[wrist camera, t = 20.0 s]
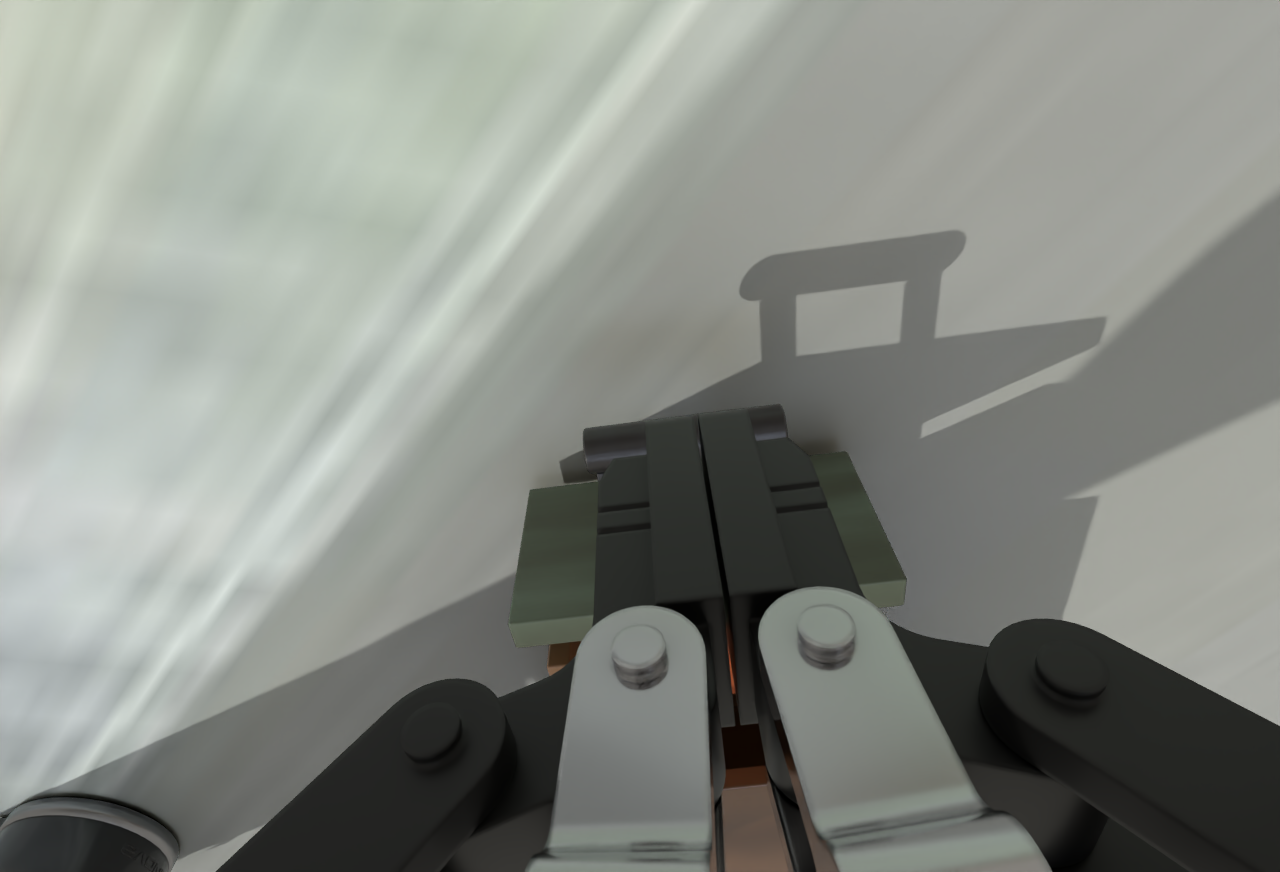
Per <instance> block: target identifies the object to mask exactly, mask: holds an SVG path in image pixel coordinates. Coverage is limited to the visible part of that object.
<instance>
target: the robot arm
mask: <svg viewBox="0 0 1280 872" xmlns="http://www.w3.org/2000/svg"><path fill="white" fill-rule="evenodd" d="M697 417H698V429H699V439H700V449H701V458H700V452H699V446H698V440H697V434H696V427H695V421H694V416H693V415H687V416H679V417H671V418H663V419H655V420H647V421H645V434H646V452H647V455H638V456H630V457H622V458H614V459H613V460H612V462H611V463H610V465H609V466H608V468H607V470H606V471H605V473H604V474H603V476H602V477H601V479H600V481H599V482H598V513H597V535H596V561H595V588H594V615H593V624H592V628H591V629H590V630H589V631H588V632H587V634H586V635H585V637H584V638H583V640H582V641H581V643H580V645H579V648H578V650H577V654H576V656H575V657H574V658H573V659H572V660H571V661H570V662H569V663H568V664H567V665H565V666H564V667H563V668H562V669H560V670H559V671H557V672H556V673H554V674H553V675H551V676H549V677H547V678H545V679H543V680H541V681H539V682H536V683H534V684H531V685H529V686H526V687H524V688H522V689H519V690H517V691H514V692H512V693H509V694H507V695H504V696H502V697H499V698H497V697H496V695H495V694H494V693H493V692H492V691H491V690H490V689H489V688H487V687H486V686H484V685H482V684H480V683H478V682H475V681H472V680H468V679H445V680H440V681H436V682H433V683H430V684H427V685H424V686H422V687H420V688H418V689H416V690H414V691H412V692H411V693H409V694H408V695H406V696H405V697H403V698H402V699H401V700H399V701H398V702H397V703H396V704H395V705H393V706H392V707H391V708H390V709H389V710H388V711H387V712H386V713H385V714H384V715H383V716H381V717H380V718H379V719H378V720H377V721H376V722H375V723H374V724H373V725H372V726H371V727H370V728H369V729H368V730H367V731H365V732H364V733H363V734H362V735H361V736H360V737H359V738H358V739H357V740H356V741H355V742H354V743H353V744H352V745H351V746H349V747H348V748H347V749H346V750H345V751H344V752H343V753H342V754H341V755H340V756H339V757H338V758H337V759H336V760H334V761H333V762H332V763H331V764H330V765H329V766H328V767H327V768H326V769H325V770H324V771H323V772H322V773H321V774H320V775H318V776H317V777H316V778H315V779H314V780H313V781H312V782H311V783H310V784H309V785H308V786H307V787H306V788H305V789H304V790H302V791H301V792H300V793H299V794H298V795H297V796H296V797H295V798H294V799H293V800H292V801H291V802H290V803H289V804H287V805H286V806H285V807H284V808H283V809H282V810H281V811H280V812H279V813H278V814H277V815H276V816H275V817H274V818H273V819H271V820H270V821H269V822H268V823H267V824H266V825H265V826H264V827H263V828H262V829H261V830H260V831H259V832H258V833H256V834H255V835H254V836H253V837H252V838H251V839H250V840H249V841H248V842H247V843H246V844H245V845H244V846H243V847H242V848H240V849H239V850H238V851H237V852H236V853H235V854H234V855H233V856H232V857H231V858H230V859H229V860H228V861H227V862H226V863H224V864H223V865H222V866H221V867H220V868H219V869H218V870H217V871H216V872H727V866H726V846H725V825H724V804H723V791H722V790H723V787H724V784H725V777H726V770H725V758H724V749H723V740H722V732H721V728H722V727H732V726H735V717H734V707H733V696H732V685H731V674H730V664H729V655H730V661H731V668H732V674H733V680H734V686H735V693H736V699H737V705H738V712H739V718H740V724H741V725H748V724H758V723H759V729H760V734H761V740H762V745H763V751H764V756H765V770H766V784H767V790H768V794H769V798H770V802H771V806H772V809H773V813H774V817H775V821H776V825H777V829H778V833H779V837H780V840H781V844H782V848H783V852H784V856H785V860H786V864H787V868H788V871H789V872H1280V726H1278V725H1276V724H1274V723H1273V722H1271V721H1269V720H1267V719H1265V718H1263V717H1261V716H1259V715H1257V714H1255V713H1253V712H1251V711H1249V710H1248V709H1246V708H1244V707H1242V706H1240V705H1238V704H1236V703H1234V702H1232V701H1230V700H1228V699H1226V698H1224V697H1222V696H1221V695H1219V694H1217V693H1215V692H1213V691H1211V690H1209V689H1207V688H1205V687H1203V686H1201V685H1199V684H1197V683H1196V682H1194V681H1192V680H1190V679H1188V678H1186V677H1184V676H1182V675H1180V674H1178V673H1176V672H1174V671H1172V670H1170V669H1169V668H1167V667H1165V666H1163V665H1161V664H1159V663H1157V662H1155V661H1153V660H1151V659H1149V658H1147V657H1145V656H1143V655H1142V654H1140V653H1138V652H1136V651H1134V650H1132V649H1130V648H1128V647H1126V646H1124V645H1122V644H1120V643H1118V642H1117V641H1115V640H1113V639H1111V638H1109V637H1107V636H1105V635H1103V634H1101V633H1099V632H1097V631H1094V630H1092V629H1090V628H1087V627H1084V626H1081V625H1078V624H1075V623H1071V622H1067V621H1062V620H1054V619H1031V620H1024V621H1021V622H1017V623H1014V624H1012V625H1010V626H1008V627H1006V628H1004V629H1003V630H1002V631H1000V632H999V633H998V634H997V635H996V636H995V637H994V639H993V640H992V642H991V643H990V646H989V647H984V646H978V645H972V644H965V643H959V642H953V641H947V640H941V639H935V638H931V637H926V636H922V635H919V634H916V633H913V632H910V631H908V630H906V629H904V628H902V627H899V626H898V625H896V624H894V623H893V622H891V621H889V620H888V619H887V617H886V616H885V615H884V614H883V612H882V611H881V610H880V609H879V608H878V607H876V606H875V605H874V604H873V603H871V602H870V601H868V600H867V599H866V597H865V596H864V594H863V592H862V590H861V588H860V586H859V583H858V581H857V578H856V576H855V573H854V570H853V568H852V565H851V563H850V560H849V557H848V555H847V552H846V550H845V547H844V544H843V542H842V539H841V536H840V534H839V531H838V529H837V526H836V523H835V521H834V518H833V516H832V513H831V510H830V508H828V504H827V500H826V497H825V495H824V492H823V490H822V487H820V483H819V479H818V476H817V474H816V471H815V469H814V466H813V463H812V461H811V458H810V456H809V455H807V454H806V453H805V452H804V451H803V450H802V449H800V448H799V447H798V446H797V445H796V444H795V443H793V442H792V441H791V440H790V439H789V438H788V437H784V438H776V439H768V440H760V441H756V438H755V434H754V431H753V427H752V424H751V420H750V417H749V413H748V410H747V408H742V409H734V410H726V411H717V412H709V413H701V414H697ZM701 459H702V464H701ZM702 468H703V470H702ZM728 649H729V653H728ZM178 855H179V846H178V843H177V841H176V839H175V838H174V836H173V835H172V834H171V833H170V832H169V831H168V830H167V829H166V828H165V827H163V826H162V825H161V824H159V823H158V822H156V821H155V820H153V819H151V818H149V817H147V816H145V815H143V814H141V813H139V812H136V811H134V810H131V809H129V808H126V807H122V806H119V805H116V804H112V803H108V802H103V801H98V800H92V799H84V798H71V797H56V798H45V799H39V800H34V801H31V802H27V803H25V804H22V805H20V806H19V807H17V808H16V809H14V810H13V811H12V812H11V813H10V814H9V816H8V817H7V818H1V819H0V872H171V870H172V868H173V866H174V864H175V862H176V860H177V858H178Z"/></svg>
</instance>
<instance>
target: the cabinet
mask: <svg viewBox="0 0 1280 872" xmlns="http://www.w3.org/2000/svg"><path fill="white" fill-rule="evenodd" d="M725 770H726V777H725V784H724V787H723V790H722V791H723V804H724V825H725V846H726V866H727V872H789V871H788V868H787V864H786V860H785V856H784V852H783V848H782V844H781V840H780V837H779V833H778V829H777V825H776V821H775V817H774V813H773V809H772V806H771V802H770V798H769V794H768V790H767V784H766V770H765V765H762V766H752V767H742V768H733V769H725Z"/></svg>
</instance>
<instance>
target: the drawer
mask: <svg viewBox="0 0 1280 872" xmlns="http://www.w3.org/2000/svg"><path fill="white" fill-rule="evenodd" d="M747 410H748V413H749V417H750V420H751V424H752V427H753V431H754V434H755V438H756V441H760V440H768V439H776V438H784V437H788V434H787V424H786V418H785V414H784V410H783V408H782V406H781V405H780V404H774V405H766V406H758V407H750V408H747ZM693 416H694V421H695V427H696V434H697V440H698V446H699V452H700V458H701V449H700V439H699V429H698V417H697V414H695V415H693ZM583 448H584V456H585V462H586V466H587V469H588V472H589V473H591V474H594V473H597V478H598V482H599V481H600V479H601V477H602V476H603V474H604V473H605V471H606V470H607V468H608V466H609V465H610V463H611V462H612V460H613V459H614V458H622V457H630V456H638V455H647V452H646V434H645V421H639V422H631V423H623V424H616V425H608V426H600V427H592V428H585V429H584V431H583ZM810 458H811V461H812V463H813V466H814V469H815V471H816V474H817V476H818V479H819V483H820V487H822V490H823V492H824V495H825V497H826V500H827V504H828V508H830V510H831V513H832V516H833V518H834V521H835V523H836V526H837V529H838V531H839V534H840V536H841V539H842V542H843V544H844V547H845V550H846V552H847V555H848V557H849V560H850V563H851V565H852V568H853V570H854V573H855V576H856V578H857V581H858V583H859V586H860V588H861V590H862V592H863V594H864V596H865V597H866V599H867V600H868V601H870V602H871V603H873V604H874V605H875V606H876V607H878V608H883V607H892V606H901V605H903V604H904V598H905V590H906V581H907V579H906V577H905V575H904V572H903V570H902V568H901V566H900V564H899V562H898V560H897V558H896V555H895V553H894V551H893V549H892V547H891V545H890V543H889V541H888V538H887V536H886V534H885V532H884V530H883V528H882V526H881V523H880V521H879V519H878V517H877V515H876V513H875V511H874V509H873V506H872V504H871V502H870V500H869V498H868V496H867V494H866V491H865V489H864V487H863V485H862V483H861V481H860V479H859V477H858V474H857V472H856V470H855V468H854V466H853V464H852V462H851V459H850V457H849V455H848V453H847V452H846V451H843V452H835V453H827V454H818V455H810ZM701 460H702V459H701ZM702 470H703V469H702ZM598 482H589V483H581V484H573V485H565V486H557V487H549V488H540V489H532V490H530V492H529V498H528V504H527V510H526V516H525V523H524V529H523V535H522V541H521V547H520V553H519V560H518V566H517V572H516V578H515V584H514V591H513V597H512V603H511V609H510V615H509V621H508V625H509V628H510V631H511V634H512V637H513V640H514V642H515V645H516V647H517V648H522V647H531V646H540V645H549V650H548V660H547V669H548V672H549V675H550V676H551V675H553V674H554V673H556V672H557V671H559V670H560V669H562V668H563V667H564V666H565V665H567V664H568V663H569V662H570V661H571V660H572V659H573V658H574V657H575V656H576V654H577V650H578V648H579V645H580V643H581V641H582V640H583V638H584V637H585V635H586V634H587V632H588V631H589V630H590V629H591V628H592V624H593V615H594V588H595V561H596V535H597V513H598ZM732 696H733V707H734V717H735V726H732V727H722V728H721V732H722V740H723V749H724V758H725V769H733V768H742V767H752V766H762V765H765V756H764V751H763V745H762V740H761V734H760V729H759V723H758V724H748V725H741V724H740V718H739V712H738V705H737V699H736V694H732Z"/></svg>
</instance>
